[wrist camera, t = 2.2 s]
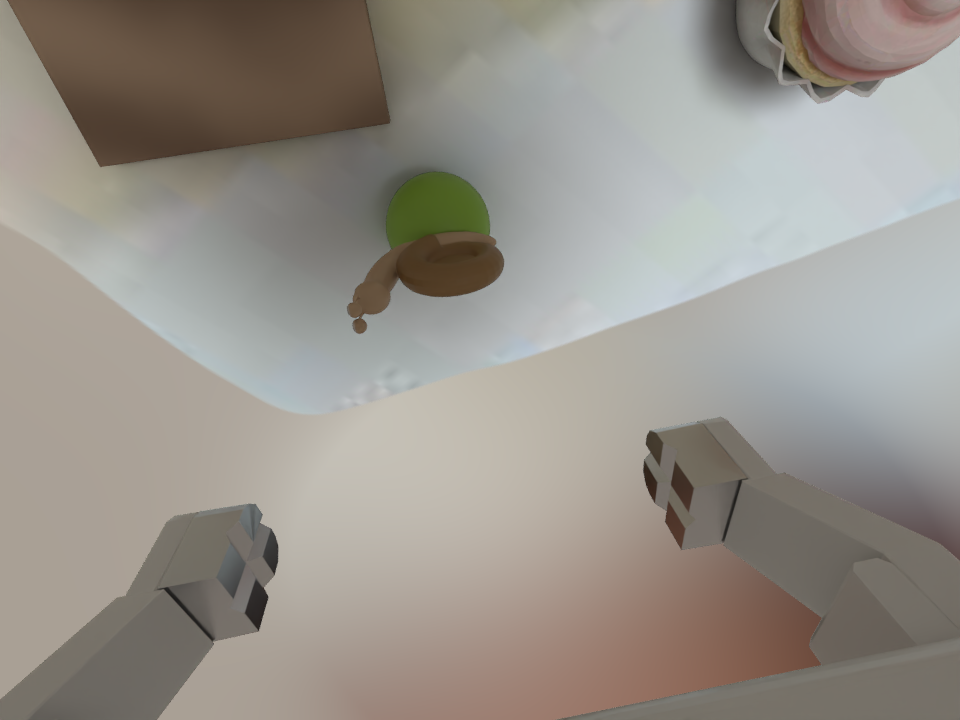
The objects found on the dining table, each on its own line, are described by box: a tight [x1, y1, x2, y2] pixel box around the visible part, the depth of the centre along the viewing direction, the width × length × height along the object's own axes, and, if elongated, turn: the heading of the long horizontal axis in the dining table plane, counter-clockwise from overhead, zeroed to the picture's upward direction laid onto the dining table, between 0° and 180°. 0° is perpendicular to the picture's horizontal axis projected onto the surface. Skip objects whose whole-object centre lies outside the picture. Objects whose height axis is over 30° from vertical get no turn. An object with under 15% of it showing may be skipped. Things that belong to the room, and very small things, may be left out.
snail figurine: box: [347, 172, 504, 334], centre depth 21 cm, size 5×6×12 cm
